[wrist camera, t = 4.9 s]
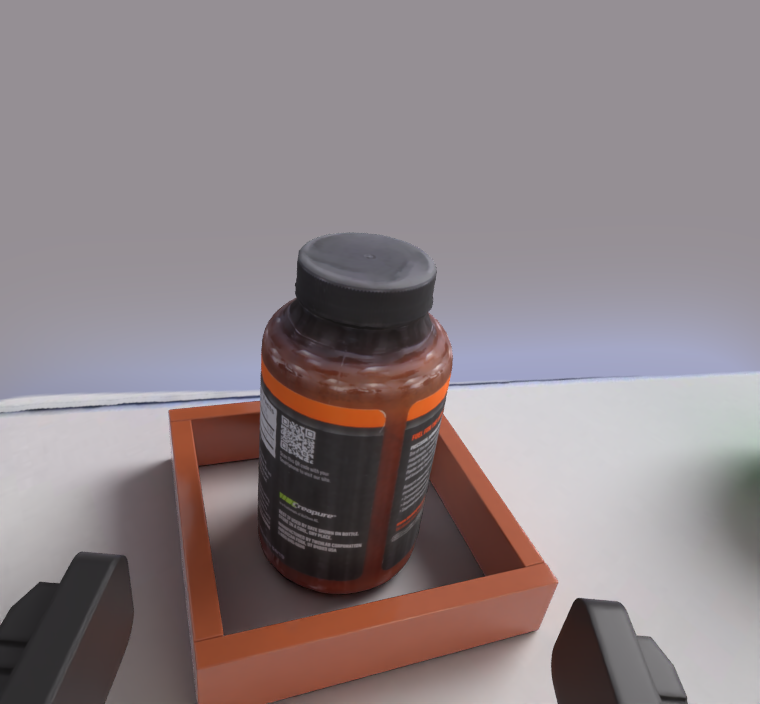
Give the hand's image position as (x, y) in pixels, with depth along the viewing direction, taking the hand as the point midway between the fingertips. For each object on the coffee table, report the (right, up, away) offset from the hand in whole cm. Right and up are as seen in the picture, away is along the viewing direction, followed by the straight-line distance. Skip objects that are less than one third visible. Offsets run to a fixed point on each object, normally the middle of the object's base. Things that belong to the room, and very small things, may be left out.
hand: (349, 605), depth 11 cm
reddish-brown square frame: (-1, -2, +12) cm, 12 cm away
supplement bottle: (-1, -2, +12) cm, 13 cm away
